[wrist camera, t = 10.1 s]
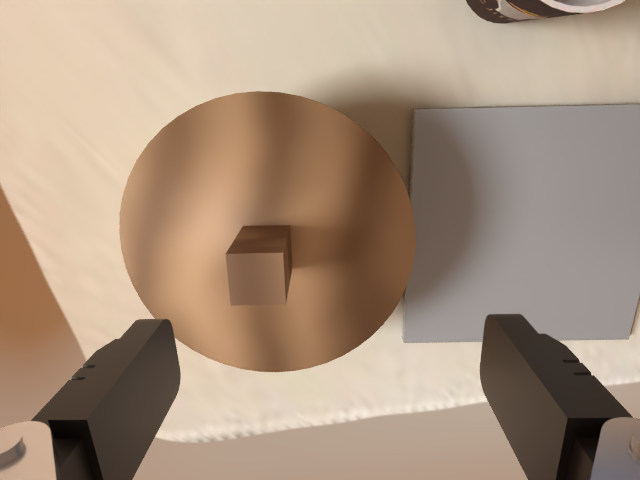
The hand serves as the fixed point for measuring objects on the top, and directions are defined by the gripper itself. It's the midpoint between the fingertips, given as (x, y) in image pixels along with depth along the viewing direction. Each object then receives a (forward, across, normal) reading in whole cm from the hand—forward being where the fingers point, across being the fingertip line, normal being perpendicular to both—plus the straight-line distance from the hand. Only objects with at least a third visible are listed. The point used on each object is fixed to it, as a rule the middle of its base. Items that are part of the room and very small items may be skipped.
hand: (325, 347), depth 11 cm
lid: (+17, +4, +3) cm, 18 cm away
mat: (+24, -16, +5) cm, 30 cm away
